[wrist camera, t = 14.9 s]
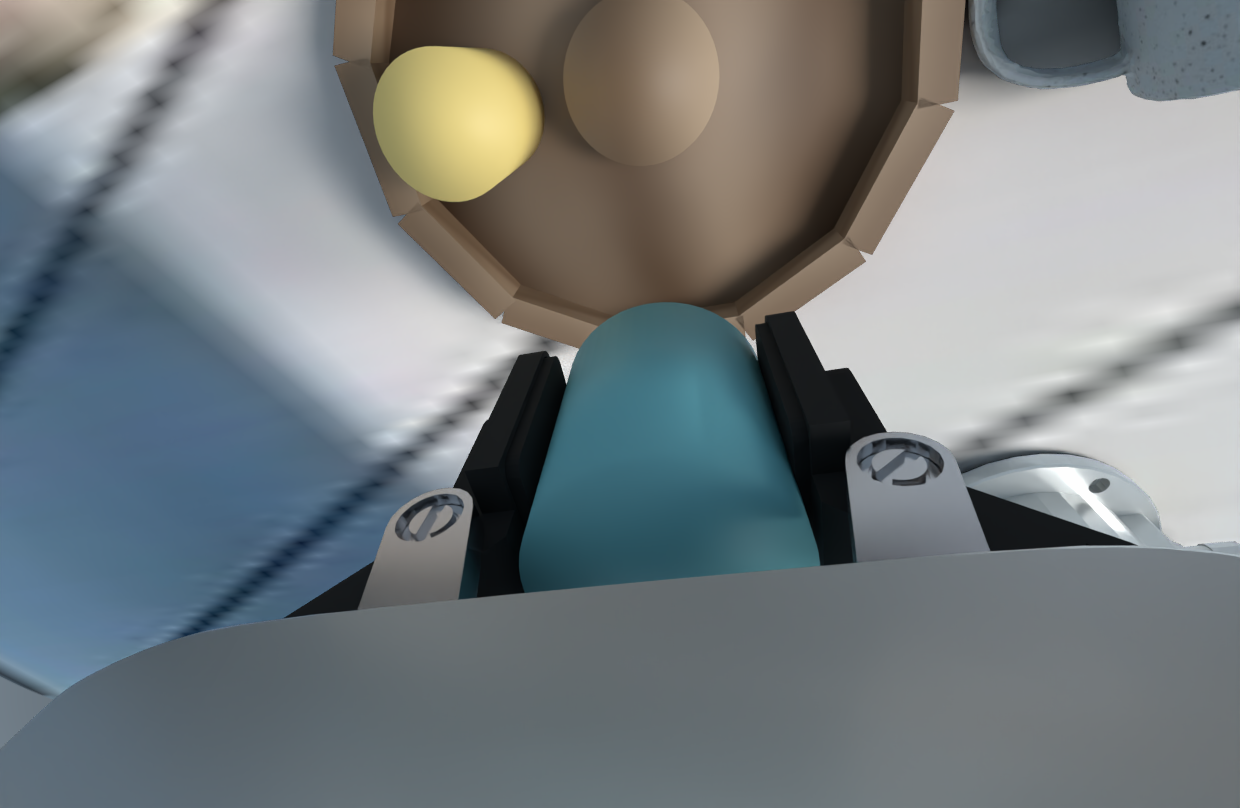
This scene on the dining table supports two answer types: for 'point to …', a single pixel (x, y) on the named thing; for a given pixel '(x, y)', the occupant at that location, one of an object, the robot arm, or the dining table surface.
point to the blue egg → (664, 461)
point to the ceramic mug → (1138, 50)
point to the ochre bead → (457, 119)
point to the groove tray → (708, 185)
